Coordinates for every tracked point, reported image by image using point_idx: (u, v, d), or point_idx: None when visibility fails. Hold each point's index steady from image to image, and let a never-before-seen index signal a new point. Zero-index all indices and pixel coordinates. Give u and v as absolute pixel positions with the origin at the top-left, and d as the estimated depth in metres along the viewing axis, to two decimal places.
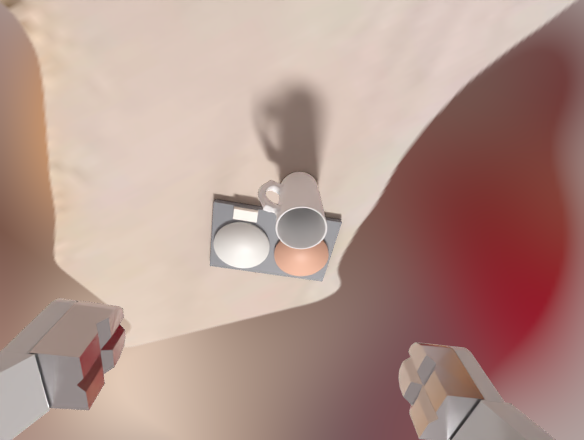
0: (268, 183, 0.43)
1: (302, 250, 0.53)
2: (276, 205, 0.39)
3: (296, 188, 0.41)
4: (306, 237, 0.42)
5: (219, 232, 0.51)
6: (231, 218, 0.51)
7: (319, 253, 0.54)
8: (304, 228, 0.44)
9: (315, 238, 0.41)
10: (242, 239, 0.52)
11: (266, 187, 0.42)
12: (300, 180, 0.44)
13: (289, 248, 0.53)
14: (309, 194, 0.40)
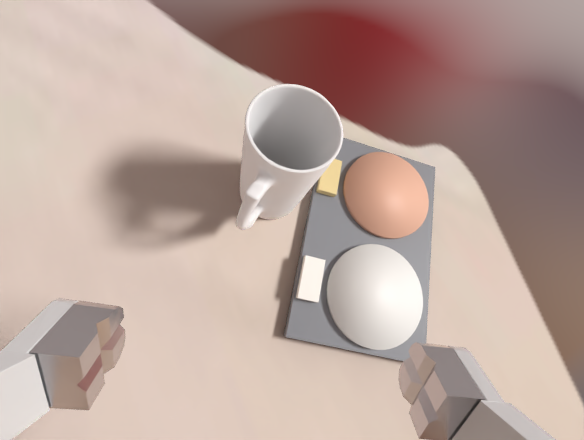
0: None
1: (377, 190, 0.32)
2: (254, 179, 0.20)
3: (241, 164, 0.24)
4: (326, 138, 0.23)
5: (348, 333, 0.27)
6: (320, 307, 0.28)
7: (381, 165, 0.33)
8: (317, 155, 0.25)
9: (323, 114, 0.22)
10: (361, 290, 0.28)
11: None
12: None
13: (375, 210, 0.31)
14: None
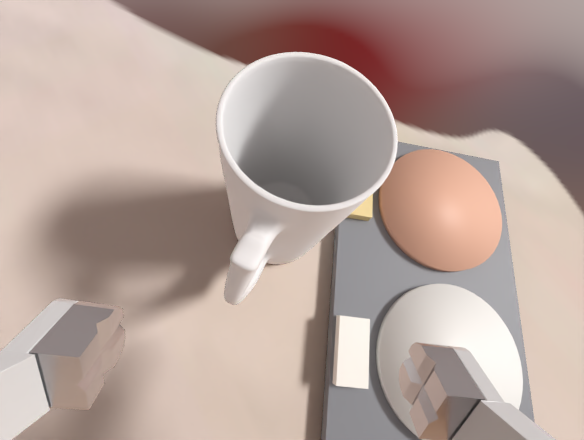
0: None
1: (428, 203, 0.23)
2: (246, 228, 0.11)
3: None
4: (361, 139, 0.14)
5: None
6: (370, 392, 0.18)
7: (427, 167, 0.24)
8: (345, 167, 0.16)
9: (354, 99, 0.13)
10: None
11: None
12: None
13: (429, 233, 0.22)
14: None
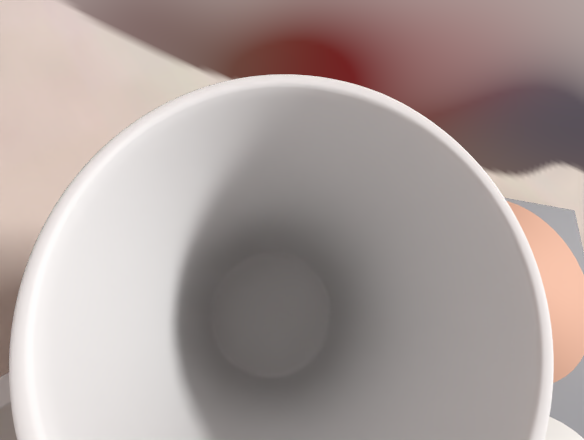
0: None
1: None
2: None
3: None
4: (419, 246, 0.06)
5: None
6: None
7: None
8: (380, 272, 0.09)
9: (408, 171, 0.06)
10: None
11: None
12: None
13: None
14: None
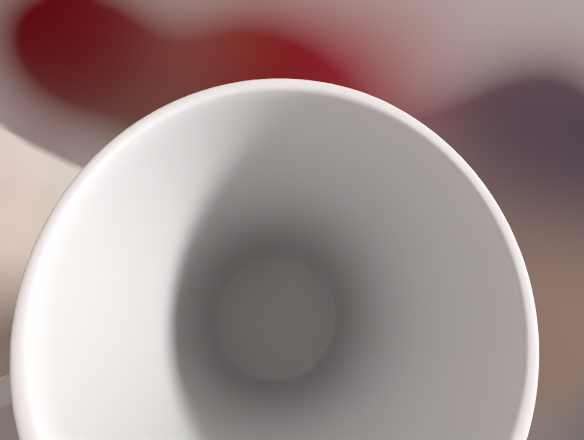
0: None
1: None
2: None
3: None
4: (414, 245, 0.06)
5: None
6: None
7: None
8: (379, 273, 0.09)
9: (399, 171, 0.06)
10: None
11: None
12: None
13: None
14: None
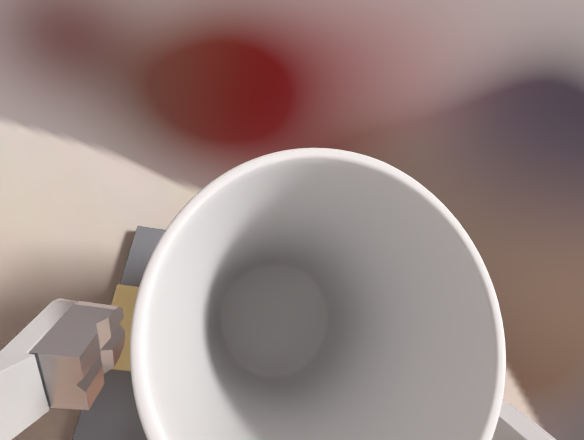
0: None
1: None
2: None
3: None
4: (409, 271, 0.08)
5: None
6: None
7: None
8: (375, 286, 0.10)
9: (402, 216, 0.07)
10: None
11: None
12: None
13: None
14: None
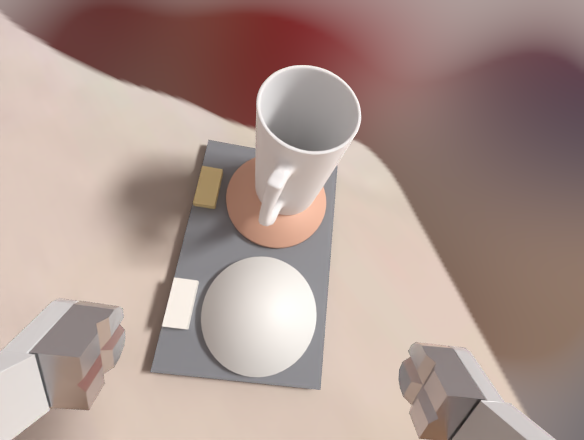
0: None
1: None
2: (273, 169, 0.19)
3: (256, 159, 0.23)
4: (341, 118, 0.21)
5: (223, 361, 0.24)
6: (193, 334, 0.25)
7: None
8: (333, 139, 0.24)
9: (336, 92, 0.20)
10: (240, 310, 0.25)
11: None
12: None
13: None
14: None
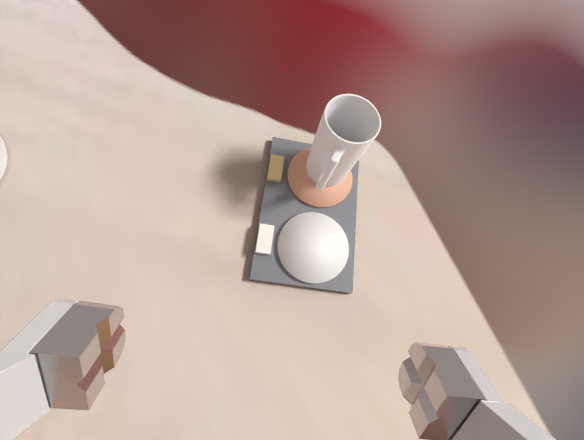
0: (316, 183, 0.38)
1: None
2: (332, 152, 0.34)
3: (315, 148, 0.38)
4: (368, 123, 0.36)
5: (293, 273, 0.39)
6: (273, 258, 0.40)
7: None
8: (361, 136, 0.38)
9: (365, 109, 0.35)
10: (301, 244, 0.40)
11: (319, 180, 0.37)
12: (310, 155, 0.41)
13: (310, 188, 0.43)
14: None
